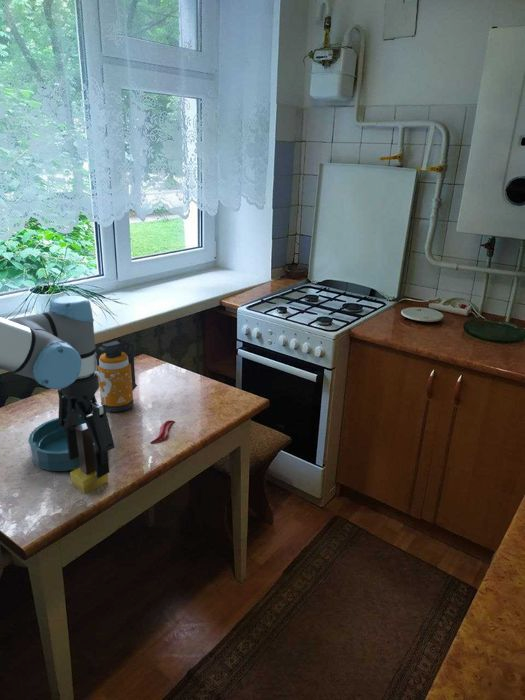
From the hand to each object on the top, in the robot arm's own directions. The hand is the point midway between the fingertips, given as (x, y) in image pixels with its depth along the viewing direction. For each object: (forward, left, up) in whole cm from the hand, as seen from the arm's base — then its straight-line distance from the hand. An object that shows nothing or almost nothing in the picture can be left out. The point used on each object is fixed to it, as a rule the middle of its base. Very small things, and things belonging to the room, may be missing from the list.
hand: (89, 465), depth 109 cm
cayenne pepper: (+25, +4, -5) cm, 26 cm away
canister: (+27, +25, -5) cm, 37 cm away
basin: (+4, +14, -5) cm, 15 cm away
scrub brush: (0, 0, -5) cm, 5 cm away
